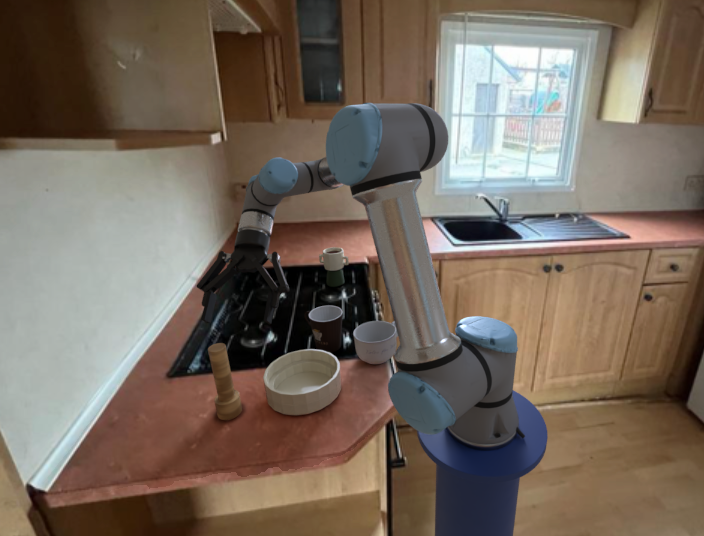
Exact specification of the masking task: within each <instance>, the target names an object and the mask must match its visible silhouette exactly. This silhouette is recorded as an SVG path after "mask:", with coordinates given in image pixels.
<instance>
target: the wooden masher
mask: <svg viewBox="0 0 704 536" xmlns="http://www.w3.org/2000/svg"><path fill="white" fill-rule="evenodd" d="M207 352H208V357H209V361H210V366H211V371H212V376H213V381H214V385H215V390H216V395H215V397H214V401H213V402H214V406H215V411H216V415H217V417H218V419H219V420H221V421H230V420H233V419H236V418H237V417H238V416H239V415H241V413H242V411H243V406H242V405H243V404H242V400H241V395H240V391H238V390H237V389H235V386H234V381H233V376H232V372H231V371H232V370H231V366H230V361H229V356H228V350H227V346H226V344H225V343H223V342H217V343H214V344H212V345H209V347H208V348H207Z"/></svg>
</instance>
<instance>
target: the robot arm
mask: <svg viewBox="0 0 704 536" xmlns="http://www.w3.org/2000/svg"><path fill="white" fill-rule="evenodd" d="M448 146H449V130H448V127H447V125H446V122H445V121H444V119H443V117H442V116H441V114H439V113H438V112H437V111H436V110H435V109H433V108H432V107H429V106H427V105H425V104H422V103H415V102H413V103H410V102H409V103H373V102H363V103H362V104H351V105H350V104H349V105H347V106H343V107H342V108H340V109H339V110H338V111H337V112H336V113H335V114H334V115H333V117H332V119H331V121H330V123H329V126H328V131H327V132H326V138H325V157H322V158H319V159H315V160H309V161H300V162H292V161H291V160H289V159H287V158H283V157H279V156H278V157H273V158H271V159H269V160H267V162H266V163H265V164H263V166H262V167H261V168H260V170H259V172H258V174H255V175H252V176H251V177H250V178H249V180H248V184H247V186H246V187H245V196H244V201H243V205H242V212H241V215H240V219H239V222H238V226H237V233H236V236H235V241H234V247H233V251H232V252H231V253H229V252H225V251H224V250H219V252H218V254H217V257H216V260H215V261H214V262H213V263H212V265H211V266H210V267H209V268H208V269H207V271H206V272H205V274H203V276H202V277H201V278H200V280H199V281H198V283H197V284H196V288H197V289H199V290H200V291H201V292H203V296H202V299H201V307H203V310H202V314H201V319H200V320H201V321H203V322H205V323H206V324H212V323H211V322H212V318H213V314H214V309H215V305H216V300H217V297H218V295H217V294H216V292H217V291H218V290H219V289H220V288H222V286H224V285H225V284H226V283H227V282H228V281H229V280H230V279H232V278H233V277H234V276H235V275H239V273H240V272H241V273H242V274H243V273H252V274H255V273H256V272H259V274H260V275H261V276H262V278H263V279H264V281H265V282H266V283H267V285H268V287H269V288H270V289H271V291H268V293H267V298H266V303H265V304H266V305H265V311H264V315H263V316H264V317H263V322H265V323H266V324H267V325H272V322H273V316H274V310H275V309H278V307H279V305H280V299H281V298H280V297H281V295H282V294H285V293H289V292H290V287H289V284H288V282H287V278H286V276H285V273H284V270H283V268H282V265H281V255H279V253H278V252H277V251H273V252H272V253H269V249H270V243H271V236H272V233H273V226H274V221H275V216H276V210H277V208H278V207H277V206H279V204H280V203H281V202H282V201H283V200H284V199H285V198H288V197H293V196H299V195H307V194H310V193H316V192H322V191H323V192H324V191H331V190H336V189H339V188H342V187H343V186H347V187H349V190H350V193H351V197H352V199H353V200H355V201H357V202H358V203H359V204H362V205H363V207H364V209H365V214H366V217H367V221H368V224H369V229H370V233H371V236H372V240H373V245H374V248H375V252H376V256H377V259H378V264H379V267H380V272H381V275H382V278H383V283H384V287H385V290H386V295H387V298H388V302H389V306H390V309H391V313H392V317H393V321H394V322H395V325H396V326H395V327H396V329H397V333H398V337H397V338H398V340H399V345H398V346H397V348H396V352H395V354H394V355H393V357H394V361H395V365H396V370H397V371H396V372H395V373H392V375H391V377H390V378H389V380H388V384H387V390H388V391H387V392H388V395H389V398H390V401H391V402H392V405H393V407H394V409H395V410H396V412H397V413H398V414H399V416H400V417H401V419H403V420H404V421H405V423H407V425H409V426H410V427H412V428H413V429H414V430H416V431H417V430H418V431H419V432H422V433H425V434H430V435H433V434H437V433H439V432H441V431H442V430H444V429H445V428H446V430H447V431H448V433H449V434H450V436H451V437H452V438H453V439H455V440H456V441H457V442H459V443H460V444H462V445H464V446H466V447H469V448H472V449H476V450H483V451H490V450H497V449H500V448H503V447H505V446H507V445H509V444H510V443H511V442H512V441H513V440H514V439H515V437H516V435H517V433H518V434H519V435H520V436H521V437H522V438H524V437H525V435H524V434H523V433H522V432H521V431H520V429H519V428H518V426H519V419H518V413H517V410H516V406H515V403H514V399H513V396H512V392H513V390H514V383H515V374H516V373H515V372H516V364H517V353H518V351H519V347H518V334H517V333H516V331H515V329H514V328H513V327H512V326H511V325H509V324H508V323H506V322H504V321H503V320H500V319H497V318H494V317H493V318H492V317H489V316H480V315H476V316H475V315H474V316H467V317H464V318H462V319H459V320H458V322H457V323H456V325H455V329H454V333H452V332H451V331H450V329H449V324H448V321H447V316H446V313H445V307H444V303H443V299H442V296H441V295H442V294H441V292H440V288H439V284H438V279H437V275H436V271H435V266H434V262H433V259H432V254H431V251H430V247H429V242H428V239H427V235H426V229H425V226H424V222H423V217H422V213H421V209H420V205H419V201H418V197H417V192H418V190H419V188H420V186H421V184H422V182H423V178H422V174H421V173H423V172H426V171H429V170H431V169H433V168H434V167H436V166H437V165H438V164H439V163H440V162H441V161H442V160H443V158H444V156H445V154H446V152H447V150H448ZM268 261H269V262H270V263H271V264H272V266H273V269H274V270H273V271H274V272H275V275H276V278H277V281H278V283H279V284H278V285H279V286H278V285H277V283H276V282H275V280H273V278H272V277H271V275H270V273H269V272H268V271H267V269H266V267H264V265H265V264H266V263H267V262H268ZM227 263H228V264H227ZM225 267H226V268H225ZM224 268H225V269H224Z"/></svg>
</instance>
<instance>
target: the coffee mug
mask: <svg viewBox="0 0 704 536" xmlns="http://www.w3.org/2000/svg"><path fill="white" fill-rule="evenodd" d="M304 319H305V322H306V323H307V324H308V326H309V327H310V328H311V331H312V335H313V339H314V343H315V348H316V349H317V350H323V351H326V352H330V353H331V354H333V353H335V352H337V351H338V350H339V349H340V348H341V346H342V334H343V333H342V328H343V310H342V308H341V307H339V306H336V305H322V306H318V307H316V308H313V309H311V310H307V311H305V312H304Z"/></svg>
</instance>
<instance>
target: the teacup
mask: <svg viewBox="0 0 704 536" xmlns="http://www.w3.org/2000/svg"><path fill="white" fill-rule="evenodd" d="M352 335H353V336H352V337H353V340H354V341H353V342H354V347H355V353H356V355H357V357H358V358H359V359H360V360H361V361H363V362H365V363H366V364H370V365H381V364H384V363H387V361H389V360H390V359H392V357H394V354H395V352H396V350H397V349H398V345H397V344H398V343H397V342H398V341H397V338H399V337H398V333H397V329H396V325H395V322H394V320H393V321H392V322H389V321H384V320H372V321H366V322H363V323H361V324H360V325H358V326H357V327H356V328H355V329H354V330H353V333H352Z"/></svg>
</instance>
